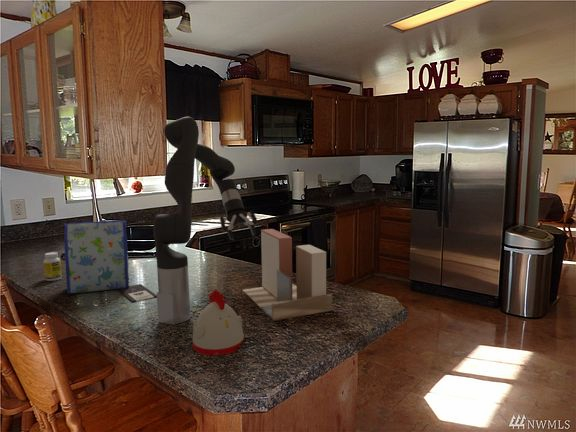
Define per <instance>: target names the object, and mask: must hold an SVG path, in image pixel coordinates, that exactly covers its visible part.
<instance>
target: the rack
mask: <svg viewBox="0 0 576 432" xmlns="http://www.w3.org/2000/svg"><path fill="white" fill-rule="evenodd" d="M242 291H243V292H244V293H245V294H246V295H247V296H248V297H249V298H250V299H251V300H252V301H253V302H254V303H255V305H256V304H257V306H259V308H261V309H262V307H263V306H269V305H272V318H271V319H272V320H273V321H280V320H284V319H291V318H296V317H302V316H308V315H312V314H313V315H314V314H319V313H324V312H325V313H326V312H331V311H333V295H332V294H331V293H328V294H327V293H326V295H320V296H313V297H307V298H301V299H297V284H294V283H293V282H292V300H288V301H282V302H277V299H276V298H275V297H274V296H273V295H271V294H270V293H269V292H268V291H267V290H265V289H264V288H263V287H262V286H261V287H252V288H245V289H242Z"/></svg>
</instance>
